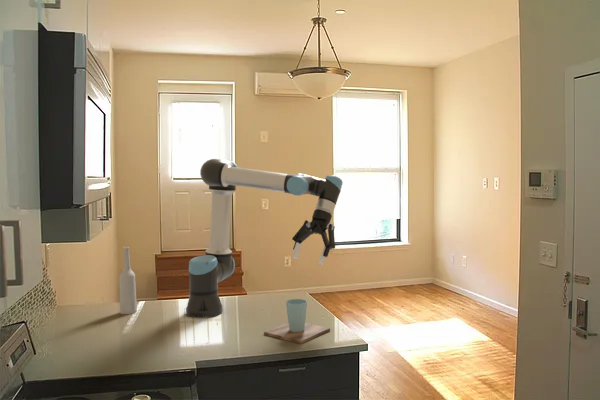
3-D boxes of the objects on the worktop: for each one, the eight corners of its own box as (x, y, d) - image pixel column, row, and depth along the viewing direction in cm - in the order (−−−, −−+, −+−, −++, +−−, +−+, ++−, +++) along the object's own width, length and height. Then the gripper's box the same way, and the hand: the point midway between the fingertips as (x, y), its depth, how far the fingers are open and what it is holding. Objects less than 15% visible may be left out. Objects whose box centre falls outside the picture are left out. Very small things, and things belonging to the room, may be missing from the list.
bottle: (137, 313, 209) (134, 247, 207) (120, 315, 206) (118, 248, 205) (136, 309, 215) (133, 245, 214) (119, 311, 212) (117, 246, 211)
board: (264, 334, 177) (264, 331, 177) (293, 322, 191) (293, 320, 190) (301, 343, 167) (301, 340, 167) (330, 330, 180) (329, 328, 180)
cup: (301, 325, 184) (300, 297, 183) (311, 330, 177) (311, 302, 177) (283, 328, 180) (282, 300, 180) (293, 334, 174) (292, 305, 173)
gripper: (353, 219, 195) (337, 269, 189) (305, 212, 211) (288, 259, 205) (344, 211, 189) (327, 263, 184) (295, 205, 206) (278, 253, 200)
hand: (306, 261), depth 195 cm, fingers open, 13 cm apart
